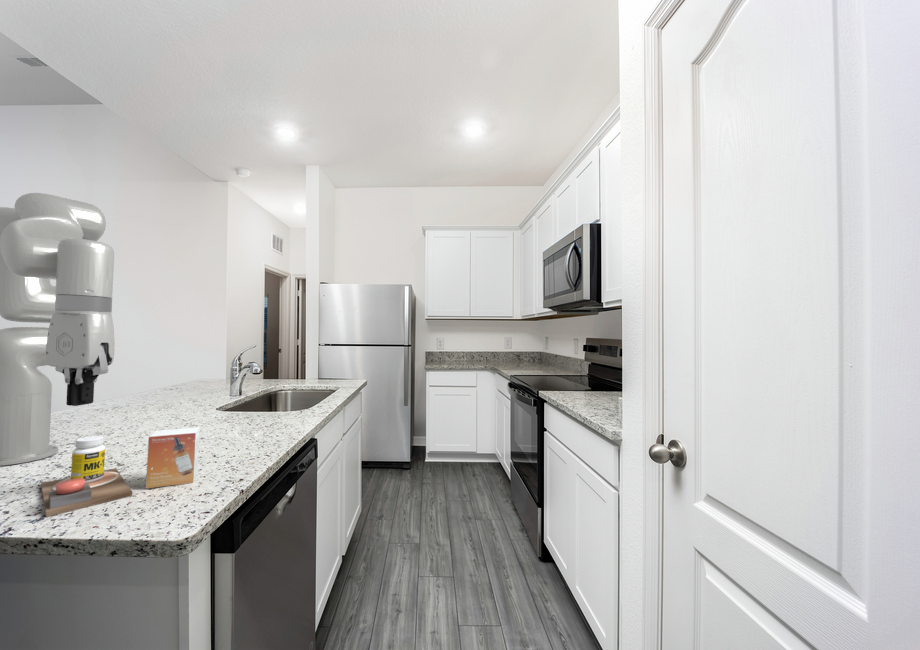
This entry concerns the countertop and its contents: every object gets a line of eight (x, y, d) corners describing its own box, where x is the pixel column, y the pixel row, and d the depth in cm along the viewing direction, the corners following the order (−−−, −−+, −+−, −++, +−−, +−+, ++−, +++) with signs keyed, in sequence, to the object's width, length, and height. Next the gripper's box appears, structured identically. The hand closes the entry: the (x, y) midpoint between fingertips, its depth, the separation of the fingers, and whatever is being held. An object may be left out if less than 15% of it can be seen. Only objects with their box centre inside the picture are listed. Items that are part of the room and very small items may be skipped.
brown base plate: (41, 487, 74) (41, 474, 74) (115, 471, 82) (116, 460, 83) (46, 516, 62) (46, 502, 63) (132, 495, 71) (132, 483, 71)
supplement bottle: (83, 485, 72) (85, 442, 73) (63, 483, 73) (65, 440, 73) (110, 476, 77) (112, 436, 77) (91, 474, 78) (93, 434, 78)
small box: (145, 490, 74) (147, 436, 74) (152, 479, 79) (154, 429, 79) (194, 483, 77) (196, 432, 78) (198, 473, 82) (200, 426, 83)
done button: (55, 490, 67) (55, 482, 67) (83, 484, 70) (83, 476, 70) (56, 496, 65) (56, 487, 65) (85, 489, 67) (86, 481, 67)
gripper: (27, 304, 67) (22, 405, 67) (93, 305, 65) (88, 411, 64) (76, 307, 75) (72, 398, 75) (137, 308, 72) (133, 403, 72)
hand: (80, 404), depth 69 cm, fingers closed
